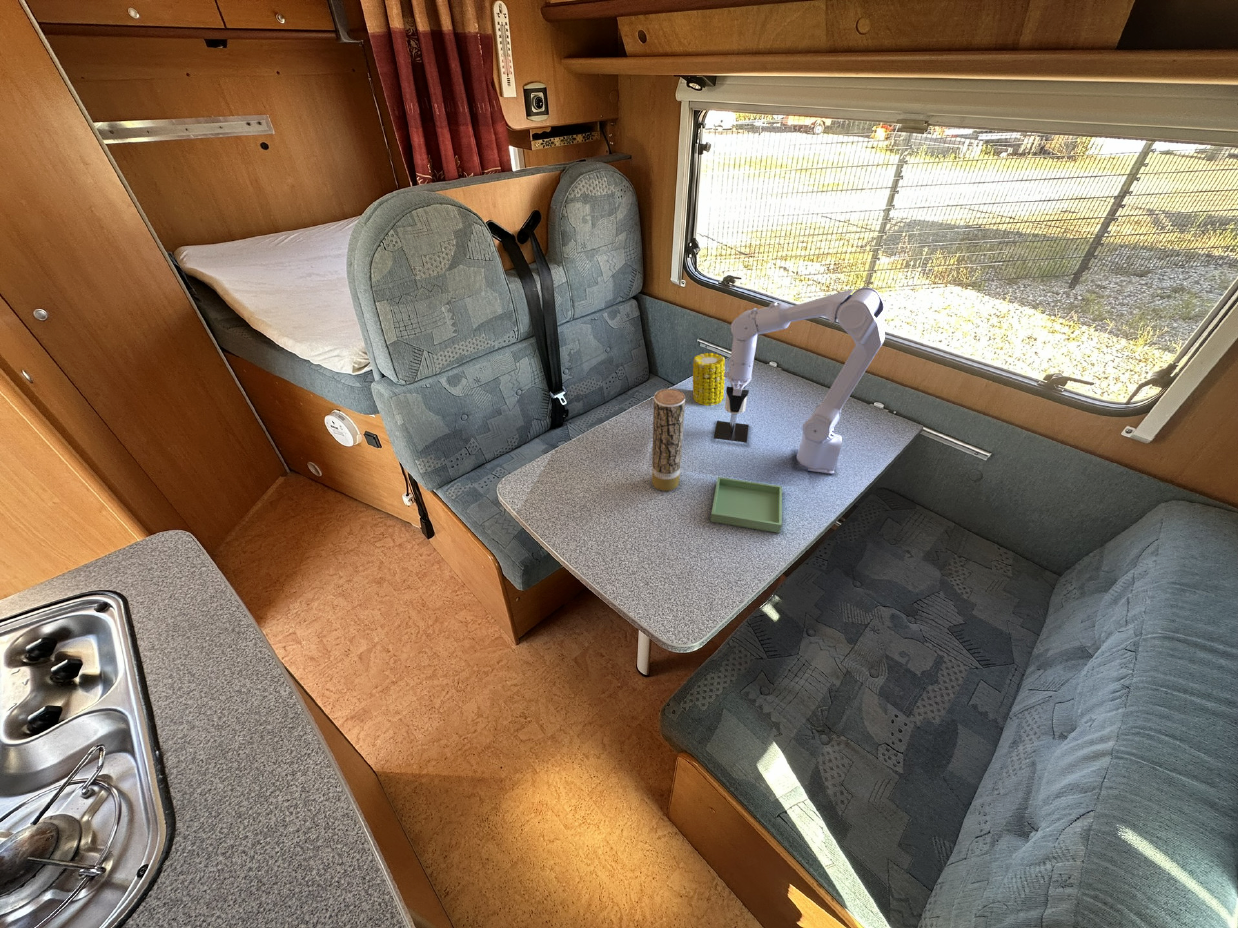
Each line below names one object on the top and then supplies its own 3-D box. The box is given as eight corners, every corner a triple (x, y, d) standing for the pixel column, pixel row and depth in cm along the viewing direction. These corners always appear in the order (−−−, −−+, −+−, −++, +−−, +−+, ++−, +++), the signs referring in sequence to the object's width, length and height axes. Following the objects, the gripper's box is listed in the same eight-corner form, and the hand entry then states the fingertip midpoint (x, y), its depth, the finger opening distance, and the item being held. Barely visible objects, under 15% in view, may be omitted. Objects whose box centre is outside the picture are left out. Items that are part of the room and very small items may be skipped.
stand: (748, 427, 141) (752, 402, 135) (746, 445, 134) (750, 420, 129) (716, 423, 142) (719, 398, 137) (713, 441, 136) (716, 416, 131)
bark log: (677, 493, 119) (683, 406, 104) (649, 490, 120) (651, 403, 105) (680, 476, 124) (686, 390, 109) (653, 473, 126) (656, 387, 110)
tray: (780, 493, 118) (782, 486, 117) (779, 533, 109) (781, 525, 107) (716, 484, 122) (717, 476, 120) (710, 521, 112) (711, 513, 110)
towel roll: (745, 404, 134) (748, 388, 131) (744, 415, 130) (747, 398, 127) (725, 402, 135) (727, 386, 132) (723, 412, 131) (725, 396, 128)
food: (705, 415, 149) (687, 401, 156) (737, 398, 151) (717, 385, 158) (698, 373, 139) (679, 360, 146) (732, 355, 141) (711, 343, 148)
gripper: (728, 345, 130) (723, 390, 139) (723, 371, 119) (717, 418, 128) (755, 348, 128) (748, 393, 137) (753, 374, 118) (745, 421, 126)
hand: (735, 405), depth 132 cm, fingers closed on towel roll, 5 cm apart
